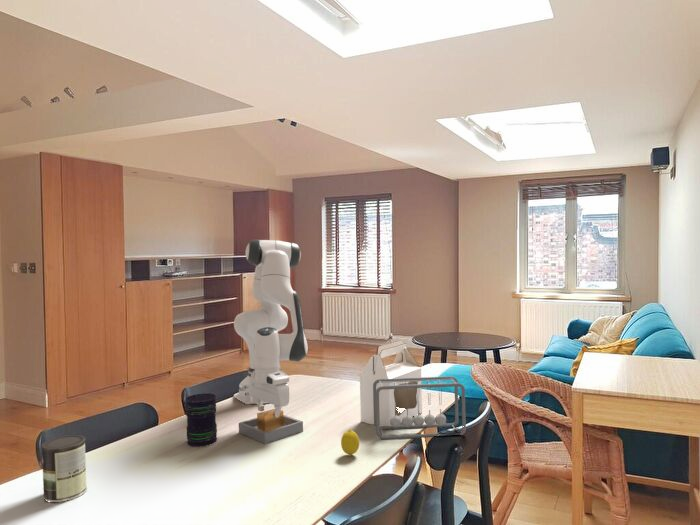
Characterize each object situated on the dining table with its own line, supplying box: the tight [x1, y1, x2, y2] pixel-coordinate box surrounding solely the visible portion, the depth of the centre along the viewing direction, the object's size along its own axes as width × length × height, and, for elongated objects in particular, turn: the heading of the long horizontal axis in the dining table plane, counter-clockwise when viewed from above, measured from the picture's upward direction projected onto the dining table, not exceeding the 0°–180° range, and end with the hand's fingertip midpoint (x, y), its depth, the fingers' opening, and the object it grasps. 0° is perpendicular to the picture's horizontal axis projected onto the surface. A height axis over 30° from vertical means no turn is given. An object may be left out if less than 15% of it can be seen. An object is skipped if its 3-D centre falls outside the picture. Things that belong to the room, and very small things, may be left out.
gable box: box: [359, 340, 423, 426], centre depth 194 cm, size 22×13×28 cm, turn 141°
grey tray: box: [238, 414, 304, 445], centre depth 182 cm, size 16×16×4 cm
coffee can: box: [40, 434, 88, 503], centre depth 138 cm, size 10×10×14 cm
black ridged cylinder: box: [185, 393, 218, 448], centre depth 174 cm, size 10×10×15 cm
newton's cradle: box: [373, 375, 467, 440], centre depth 177 cm, size 30×10×18 cm, turn 93°
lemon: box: [340, 429, 360, 457], centre depth 159 cm, size 6×6×8 cm
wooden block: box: [256, 408, 284, 432], centre depth 182 cm, size 4×8×6 cm, turn 134°
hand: (268, 413), depth 182 cm, fingers open, 8 cm apart
